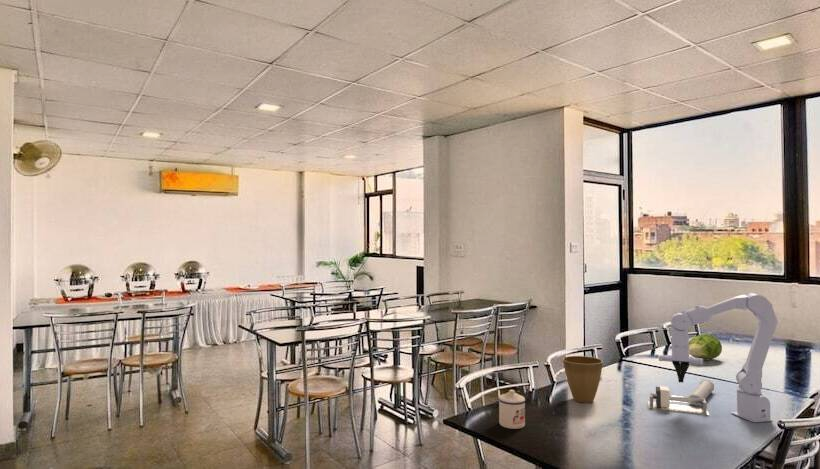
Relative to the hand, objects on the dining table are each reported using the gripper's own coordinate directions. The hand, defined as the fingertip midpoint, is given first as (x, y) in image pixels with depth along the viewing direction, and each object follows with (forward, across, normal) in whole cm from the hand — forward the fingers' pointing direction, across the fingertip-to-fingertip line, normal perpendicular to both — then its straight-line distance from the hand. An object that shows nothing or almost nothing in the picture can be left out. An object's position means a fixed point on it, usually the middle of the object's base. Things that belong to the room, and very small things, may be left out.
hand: (680, 381), depth 180 cm
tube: (+10, -9, -16) cm, 21 cm away
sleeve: (+10, +6, +1) cm, 11 cm away
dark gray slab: (+10, +8, +1) cm, 13 cm away
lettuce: (+10, -19, -89) cm, 91 cm away
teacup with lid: (+10, +55, +40) cm, 69 cm away
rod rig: (+10, +1, +1) cm, 10 cm away
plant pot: (+10, +35, +4) cm, 36 cm away
